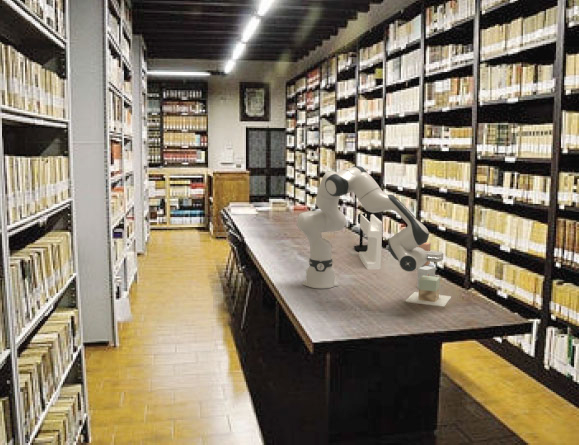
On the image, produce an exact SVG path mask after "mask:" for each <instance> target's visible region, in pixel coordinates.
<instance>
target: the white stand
mask: <svg viewBox="0 0 579 445" xmlns="http://www.w3.org/2000/svg"><path fill="white" fill-rule="evenodd" d="M359 214H360V216H361V217H360V224H359V229H360V228H361V229H362V231H363V234H364V235H366V237H367V245H368V249H367V251H366V252H359V251H358V252H359V254H358V255H359V256H358V257H359V259H360V260H361V263H363V266H365V268H366V270H382V244H383V243H382V237H383V221H382V222H381V221H380V220H379V219H378V218H377V217H375V214H372V213H370V216H371V217H370V222H369V221H368V220H367V219H366V218H365V217H366V216H365V217H364V216H363V215H362V214H363V213H359Z"/></svg>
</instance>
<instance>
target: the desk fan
mask: <svg viewBox="0 0 579 445" xmlns="http://www.w3.org/2000/svg"><path fill="white" fill-rule="evenodd" d="M360 214H362V215H363V216H364V217H365V218H366V219H367V220H368V221H369V222H370V217H371V214H373V215H374V216H375V217H377V218H378V219H379V220H380V221H381V222H382V223H383V216H382V215H383V214H382V213H381V212H376V213H373V212H369V211H367V210H366V209H365V208H364V213H358V214H357V224H359V225H360V217H361V216H360ZM363 234H364V232H363V231H362V229H361V228H360V227H359V244H356V245H354V246H353V248H354V250H355V251H356V252H366V251H367V249H368V244H363V242H364V240H363V238H364V237H363Z"/></svg>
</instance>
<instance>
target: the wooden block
mask: <svg viewBox="0 0 579 445" xmlns="http://www.w3.org/2000/svg"><path fill="white" fill-rule="evenodd" d="M418 292H419V296H418V300H424V301H432V302H436V301H437V299H438V298H439V295H440V288H439V289H438V290H437V291H436V292H435V291H427V290H419V289H418Z"/></svg>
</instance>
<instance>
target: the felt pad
mask: <svg viewBox="0 0 579 445" xmlns="http://www.w3.org/2000/svg"><path fill="white" fill-rule="evenodd" d="M418 296H419V291H414V292H413V293H412V294H411V295H410V296H409V297H408V298H407V299H405V301H404V302H406V303H411V304H420V305H427V306H431V307H433V306H434V307H440V308H441V307H442V308H445V307H446V305H447V304H448V303H449V302H450V300H451V298H452V296H450V295H445V294H444V295H443V294H439V298H438V299H437V301H436V302H432V301H424V300H418Z"/></svg>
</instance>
